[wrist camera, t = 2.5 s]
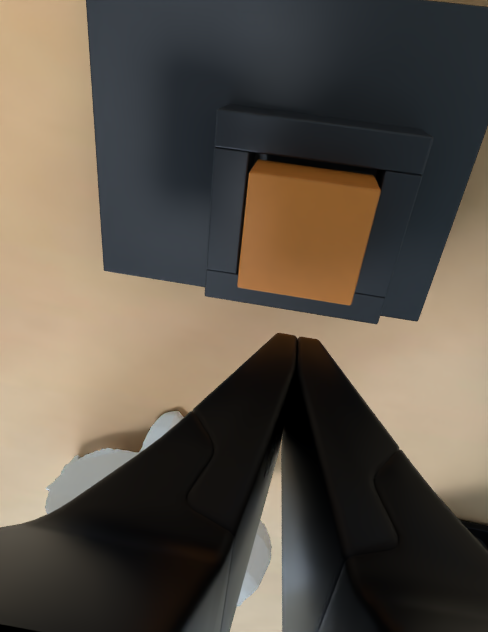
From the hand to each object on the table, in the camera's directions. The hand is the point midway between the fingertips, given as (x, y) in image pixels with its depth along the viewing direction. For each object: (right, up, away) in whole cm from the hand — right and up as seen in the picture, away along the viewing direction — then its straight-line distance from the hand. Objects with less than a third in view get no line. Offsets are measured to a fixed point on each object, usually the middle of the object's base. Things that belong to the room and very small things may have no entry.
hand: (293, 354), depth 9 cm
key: (+1, +4, +7) cm, 8 cm away
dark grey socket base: (0, +7, +9) cm, 12 cm away
